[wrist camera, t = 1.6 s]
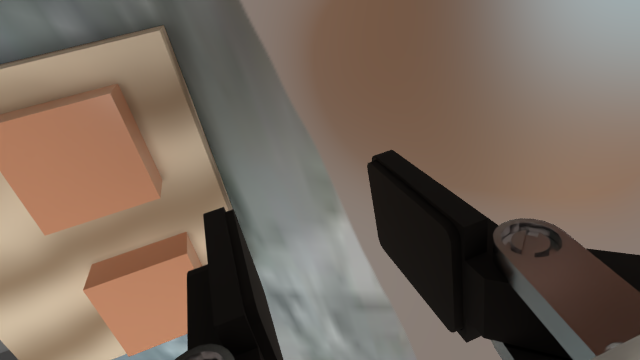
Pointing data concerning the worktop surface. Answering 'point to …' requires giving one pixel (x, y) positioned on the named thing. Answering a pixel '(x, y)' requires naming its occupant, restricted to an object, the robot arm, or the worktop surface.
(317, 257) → the worktop surface
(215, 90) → the worktop surface
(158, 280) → the tile
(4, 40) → the worktop surface
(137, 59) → the bench plate
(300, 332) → the worktop surface
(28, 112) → the tile
